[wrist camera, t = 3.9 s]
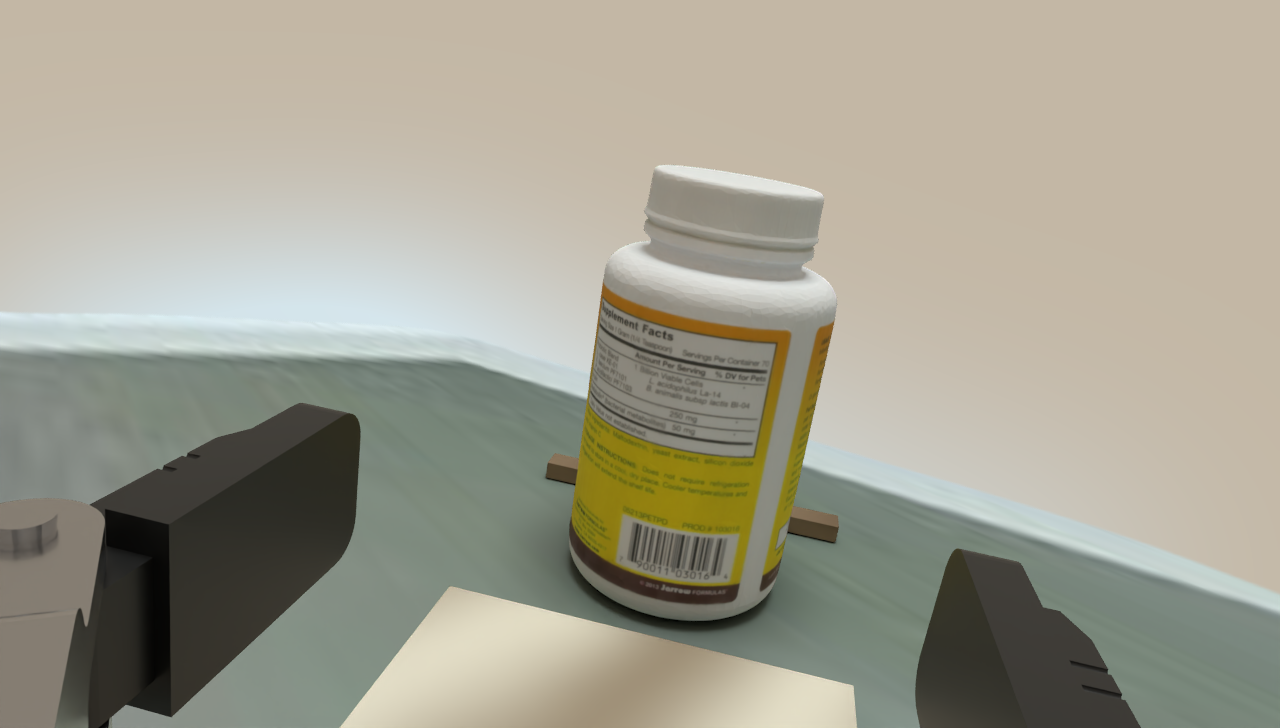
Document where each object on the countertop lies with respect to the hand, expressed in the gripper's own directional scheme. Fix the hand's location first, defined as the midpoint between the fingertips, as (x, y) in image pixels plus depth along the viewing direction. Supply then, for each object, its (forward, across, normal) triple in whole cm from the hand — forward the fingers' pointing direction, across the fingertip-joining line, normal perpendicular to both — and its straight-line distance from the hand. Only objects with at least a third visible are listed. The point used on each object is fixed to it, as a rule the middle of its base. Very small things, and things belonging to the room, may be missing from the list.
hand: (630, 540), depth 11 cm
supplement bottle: (+10, 0, +6) cm, 12 cm away
